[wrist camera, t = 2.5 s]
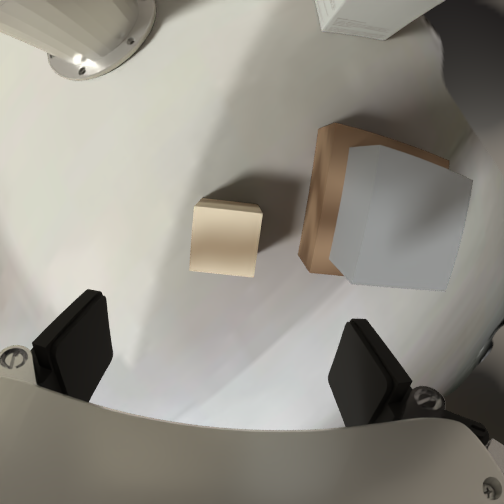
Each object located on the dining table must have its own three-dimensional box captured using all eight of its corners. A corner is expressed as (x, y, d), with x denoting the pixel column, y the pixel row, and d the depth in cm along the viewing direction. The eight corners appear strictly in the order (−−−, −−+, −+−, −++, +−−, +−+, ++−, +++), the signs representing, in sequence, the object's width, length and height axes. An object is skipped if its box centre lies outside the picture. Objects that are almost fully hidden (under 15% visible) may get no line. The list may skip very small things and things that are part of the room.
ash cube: (202, 197, 25) (194, 206, 20) (257, 204, 25) (262, 213, 21) (197, 251, 26) (189, 270, 22) (250, 256, 27) (253, 277, 22)
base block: (317, 129, 24) (335, 122, 19) (420, 158, 25) (449, 160, 20) (297, 253, 27) (309, 272, 23) (398, 265, 28) (422, 283, 24)
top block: (349, 147, 20) (380, 144, 15) (435, 174, 20) (472, 180, 16) (328, 258, 22) (351, 284, 18) (414, 269, 23) (445, 291, 18)
